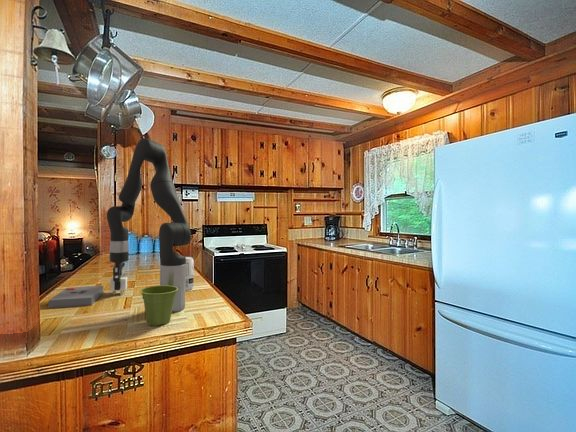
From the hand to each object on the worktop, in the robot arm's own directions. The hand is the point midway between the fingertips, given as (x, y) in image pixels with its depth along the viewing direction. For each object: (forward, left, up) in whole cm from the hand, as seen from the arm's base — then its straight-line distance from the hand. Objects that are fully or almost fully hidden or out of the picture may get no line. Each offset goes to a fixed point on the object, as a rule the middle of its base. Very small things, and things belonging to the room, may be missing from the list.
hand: (118, 287), depth 135 cm
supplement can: (+2, -28, -3) cm, 28 cm away
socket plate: (-5, +14, -3) cm, 15 cm away
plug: (0, 0, -3) cm, 3 cm away
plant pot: (-42, -19, -3) cm, 46 cm away
